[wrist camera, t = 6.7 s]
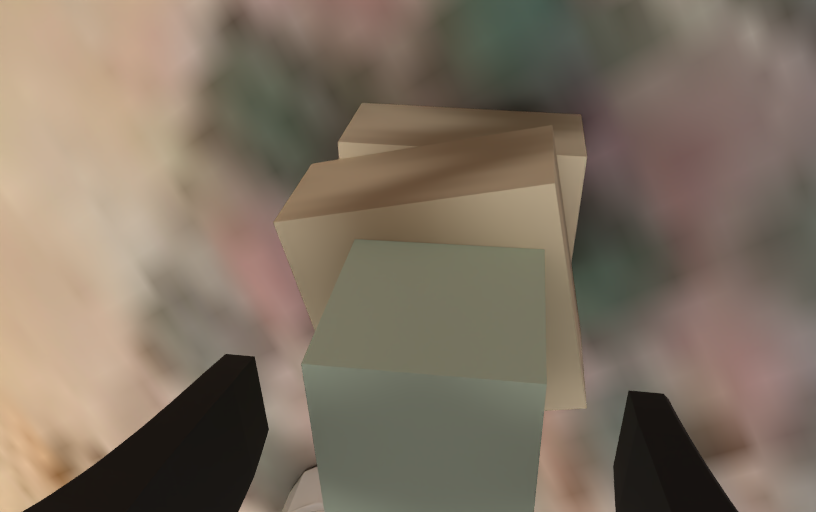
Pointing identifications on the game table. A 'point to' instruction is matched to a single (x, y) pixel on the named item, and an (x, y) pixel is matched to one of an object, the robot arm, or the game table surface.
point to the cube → (430, 379)
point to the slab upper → (444, 223)
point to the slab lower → (432, 125)
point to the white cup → (305, 494)
